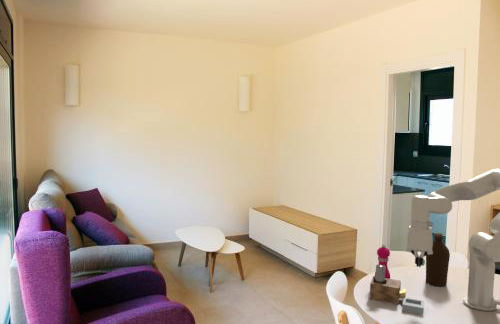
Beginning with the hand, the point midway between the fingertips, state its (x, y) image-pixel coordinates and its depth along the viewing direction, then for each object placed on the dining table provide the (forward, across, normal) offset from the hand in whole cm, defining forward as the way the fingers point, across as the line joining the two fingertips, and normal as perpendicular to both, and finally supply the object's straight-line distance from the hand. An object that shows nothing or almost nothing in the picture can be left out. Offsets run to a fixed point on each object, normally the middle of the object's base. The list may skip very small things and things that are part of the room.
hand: (418, 265), depth 175 cm
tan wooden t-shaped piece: (+16, +9, 0) cm, 18 cm away
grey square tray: (+16, +2, +7) cm, 18 cm away
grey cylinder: (+16, +16, 0) cm, 23 cm away
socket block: (+16, +14, 0) cm, 21 cm away
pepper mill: (+17, +16, -15) cm, 28 cm away
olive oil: (+17, -8, -29) cm, 34 cm away
